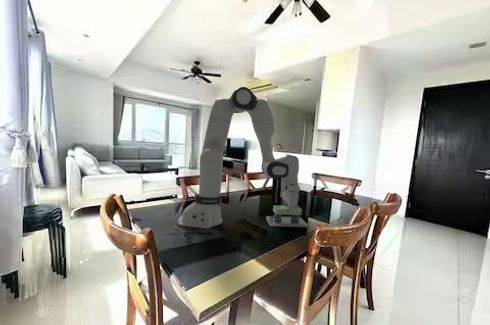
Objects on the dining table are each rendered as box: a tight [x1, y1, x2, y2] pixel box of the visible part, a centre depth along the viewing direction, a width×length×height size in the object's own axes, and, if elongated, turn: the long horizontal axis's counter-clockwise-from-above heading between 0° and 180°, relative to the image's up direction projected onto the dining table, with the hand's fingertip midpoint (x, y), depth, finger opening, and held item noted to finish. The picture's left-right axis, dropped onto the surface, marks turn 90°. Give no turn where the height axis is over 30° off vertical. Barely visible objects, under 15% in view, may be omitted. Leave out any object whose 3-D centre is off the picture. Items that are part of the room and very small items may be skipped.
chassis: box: [265, 213, 308, 228], centre depth 121 cm, size 20×11×8 cm, turn 96°
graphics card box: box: [270, 178, 283, 214], centre depth 143 cm, size 17×7×27 cm, turn 168°
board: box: [273, 205, 303, 216], centre depth 121 cm, size 14×6×3 cm, turn 96°
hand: (287, 209), depth 121 cm, fingers closed on board, 6 cm apart
